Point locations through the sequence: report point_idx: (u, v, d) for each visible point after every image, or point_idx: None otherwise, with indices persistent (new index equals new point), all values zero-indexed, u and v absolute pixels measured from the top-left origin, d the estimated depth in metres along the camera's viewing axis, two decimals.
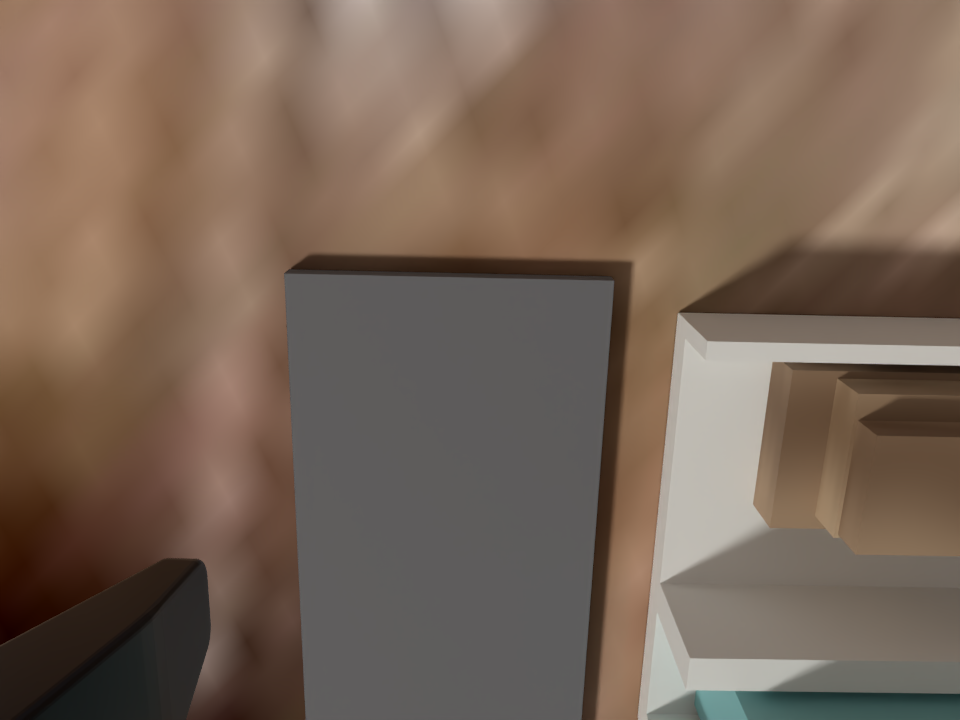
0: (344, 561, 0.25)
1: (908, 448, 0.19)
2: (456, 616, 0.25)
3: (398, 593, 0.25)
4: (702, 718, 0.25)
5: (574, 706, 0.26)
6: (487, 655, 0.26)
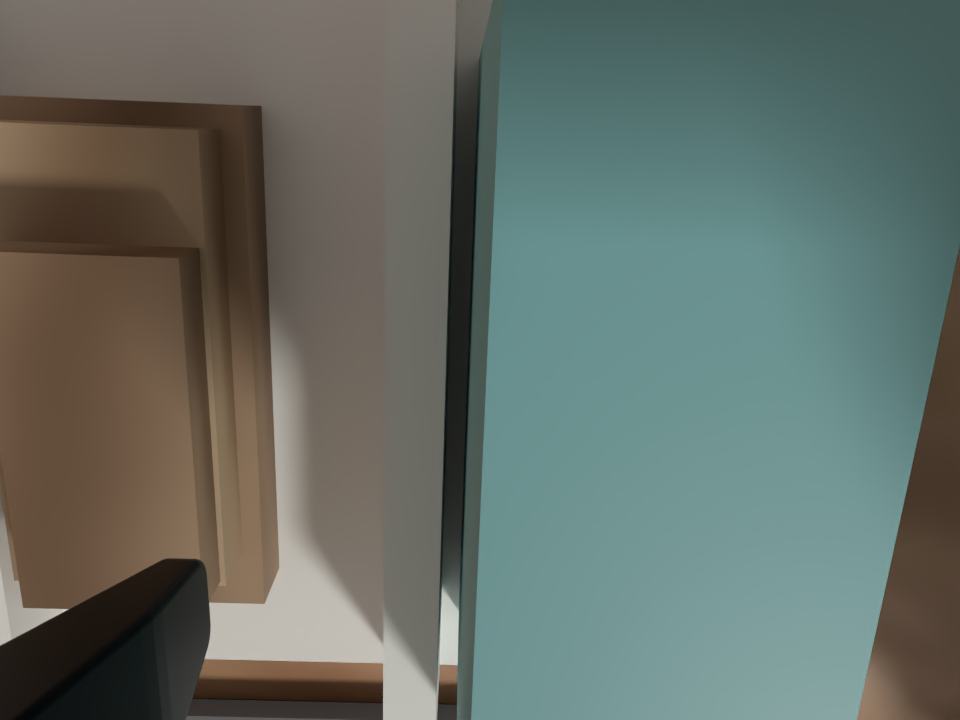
0: None
1: (35, 569, 0.14)
2: None
3: None
4: None
5: None
6: None
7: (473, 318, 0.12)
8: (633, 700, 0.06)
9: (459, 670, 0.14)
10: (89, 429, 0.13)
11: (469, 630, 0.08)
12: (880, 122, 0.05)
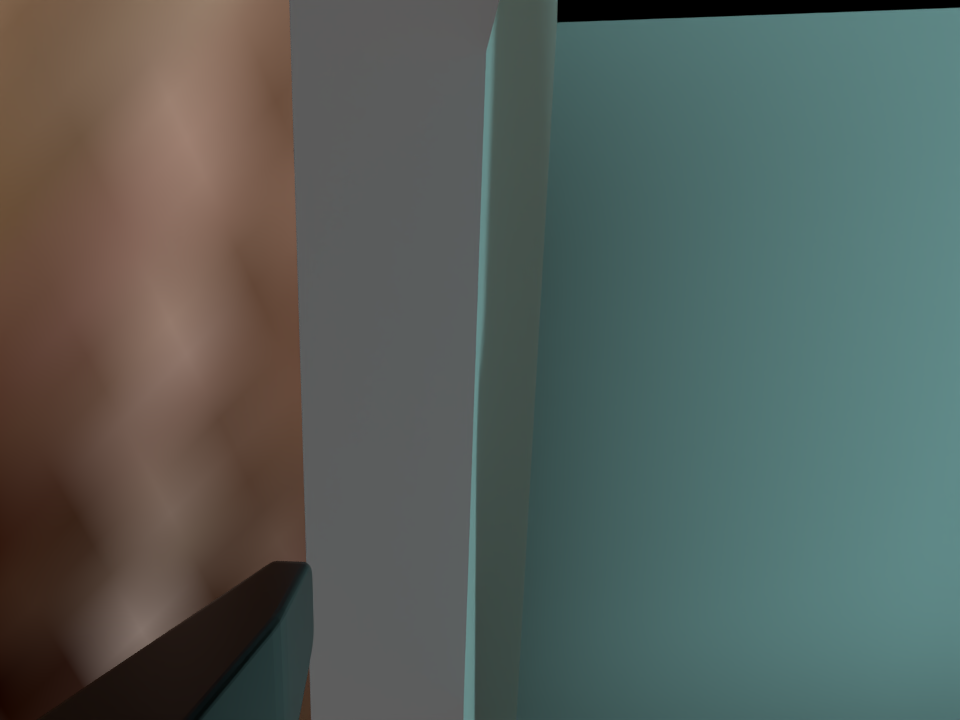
0: (382, 460, 0.14)
1: None
2: None
3: None
4: None
5: None
6: None
7: (481, 390, 0.09)
8: None
9: None
10: None
11: None
12: None
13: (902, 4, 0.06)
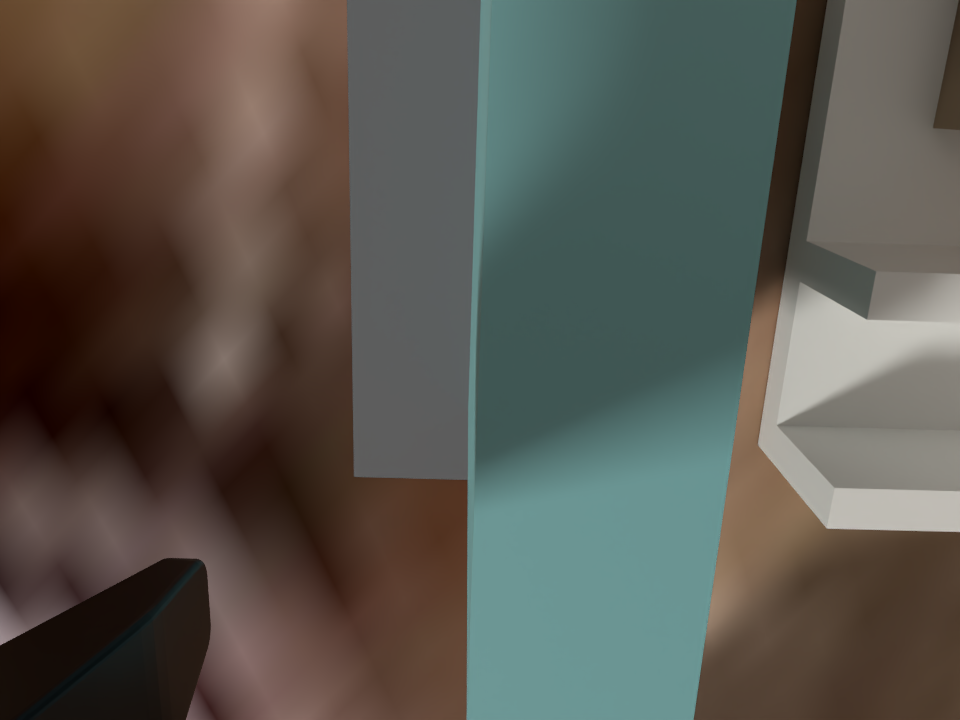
0: (408, 210, 0.19)
1: None
2: None
3: None
4: None
5: None
6: None
7: (481, 71, 0.14)
8: (601, 203, 0.09)
9: (470, 404, 0.16)
10: None
11: (481, 223, 0.10)
12: None
13: None
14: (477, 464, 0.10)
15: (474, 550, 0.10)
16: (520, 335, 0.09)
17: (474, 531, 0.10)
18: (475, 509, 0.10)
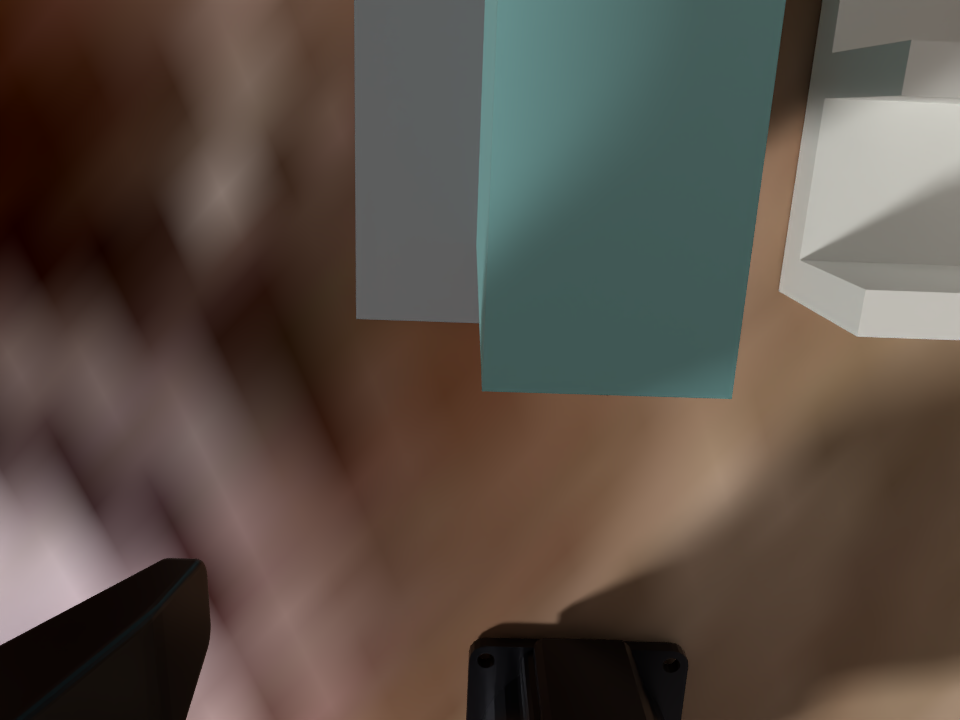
0: (415, 20, 0.19)
1: None
2: None
3: None
4: None
5: None
6: None
7: None
8: None
9: (481, 179, 0.15)
10: None
11: None
12: None
13: None
14: (497, 59, 0.09)
15: (492, 168, 0.09)
16: None
17: (493, 143, 0.09)
18: (494, 114, 0.09)
